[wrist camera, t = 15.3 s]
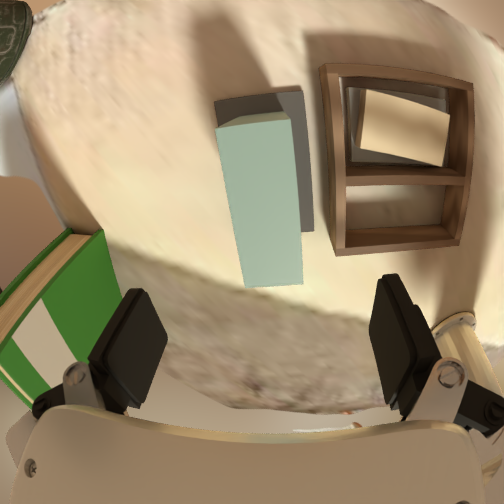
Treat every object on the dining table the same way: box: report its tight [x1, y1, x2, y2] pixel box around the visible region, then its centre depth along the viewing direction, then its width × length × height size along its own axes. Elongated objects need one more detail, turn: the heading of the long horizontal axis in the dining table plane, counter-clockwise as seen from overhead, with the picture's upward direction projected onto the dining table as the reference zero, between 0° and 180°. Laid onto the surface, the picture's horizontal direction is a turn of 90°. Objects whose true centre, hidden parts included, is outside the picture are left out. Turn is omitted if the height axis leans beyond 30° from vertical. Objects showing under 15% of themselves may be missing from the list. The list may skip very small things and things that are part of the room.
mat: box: [214, 91, 314, 232], centre depth 28 cm, size 16×9×1 cm, turn 8°
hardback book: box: [0, 228, 122, 409], centre depth 29 cm, size 18×7×24 cm, turn 178°
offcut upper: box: [355, 89, 450, 167], centre depth 22 cm, size 6×10×2 cm, turn 88°
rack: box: [319, 63, 475, 256], centre depth 24 cm, size 20×17×4 cm
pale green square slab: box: [215, 111, 303, 288], centre depth 23 cm, size 4×12×12 cm, turn 8°
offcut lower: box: [346, 87, 446, 166], centre depth 24 cm, size 8×12×2 cm, turn 96°
